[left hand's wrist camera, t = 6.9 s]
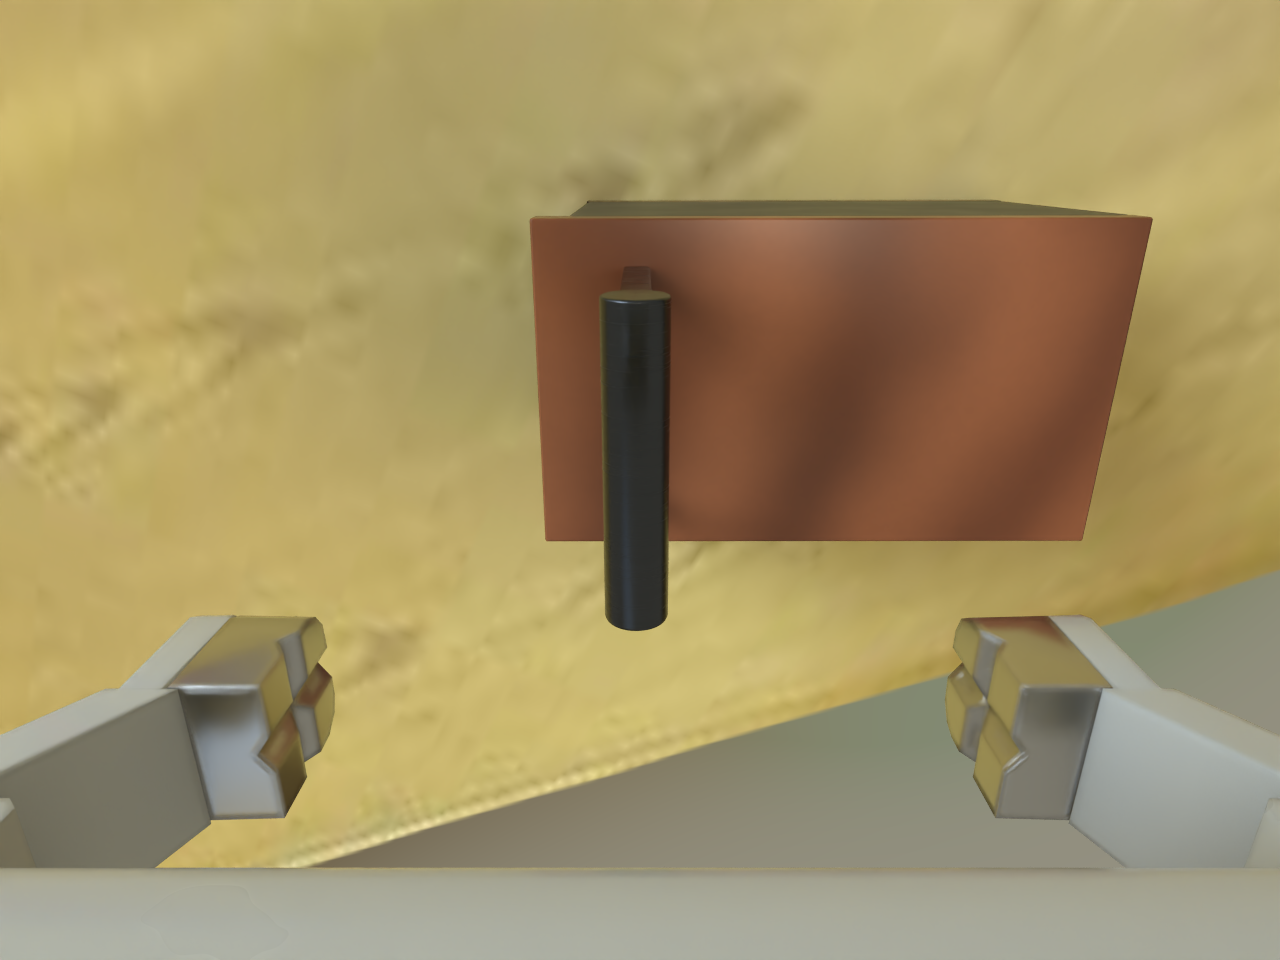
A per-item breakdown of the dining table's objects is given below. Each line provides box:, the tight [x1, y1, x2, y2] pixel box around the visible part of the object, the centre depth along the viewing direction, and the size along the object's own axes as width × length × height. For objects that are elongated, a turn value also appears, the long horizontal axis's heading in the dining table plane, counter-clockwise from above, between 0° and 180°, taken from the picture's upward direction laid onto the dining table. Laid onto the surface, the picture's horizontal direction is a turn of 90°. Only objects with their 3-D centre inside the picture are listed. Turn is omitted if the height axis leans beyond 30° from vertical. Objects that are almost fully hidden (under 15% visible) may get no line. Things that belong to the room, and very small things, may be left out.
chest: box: [571, 200, 1125, 216], centre depth 28 cm, size 15×9×10 cm, turn 90°
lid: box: [530, 215, 1153, 631], centre depth 20 cm, size 16×9×8 cm, turn 90°
